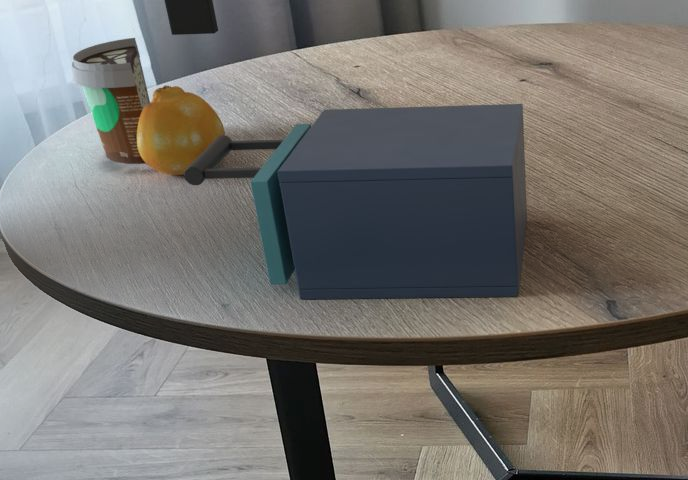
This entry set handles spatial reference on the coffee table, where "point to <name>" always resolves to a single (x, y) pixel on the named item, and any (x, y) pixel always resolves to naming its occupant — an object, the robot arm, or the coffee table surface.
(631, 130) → the coffee table surface
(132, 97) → the food container
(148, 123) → the fruit
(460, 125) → the cabinet
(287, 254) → the drawer
